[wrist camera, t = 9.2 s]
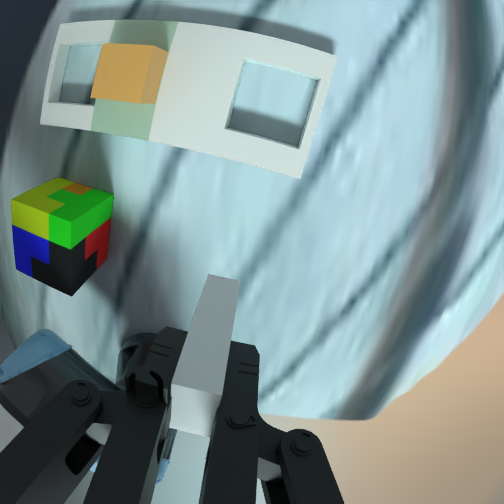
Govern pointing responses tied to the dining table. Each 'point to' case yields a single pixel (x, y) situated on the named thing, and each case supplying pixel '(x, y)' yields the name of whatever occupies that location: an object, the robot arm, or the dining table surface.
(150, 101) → the orange block
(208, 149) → the plate
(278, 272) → the dining table surface
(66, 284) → the puzzle toy
